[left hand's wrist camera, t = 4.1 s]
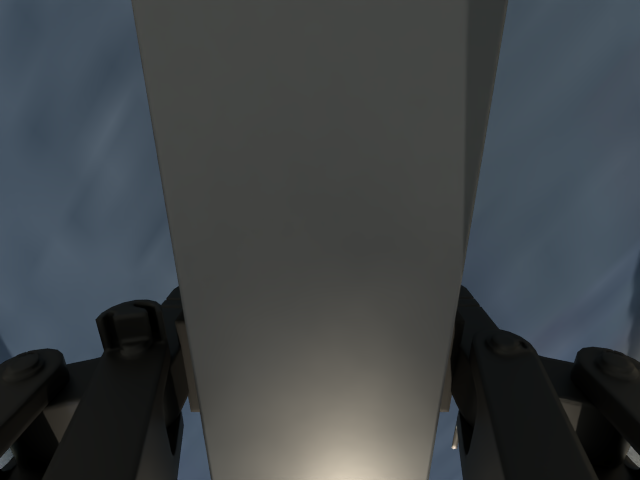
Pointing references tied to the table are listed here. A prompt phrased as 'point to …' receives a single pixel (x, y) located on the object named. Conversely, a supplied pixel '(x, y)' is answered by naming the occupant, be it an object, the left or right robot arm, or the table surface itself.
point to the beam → (319, 218)
